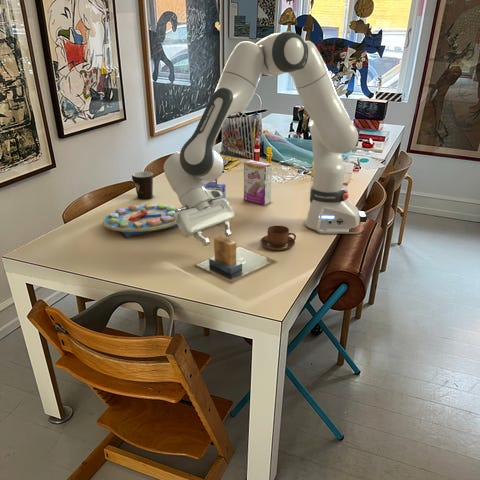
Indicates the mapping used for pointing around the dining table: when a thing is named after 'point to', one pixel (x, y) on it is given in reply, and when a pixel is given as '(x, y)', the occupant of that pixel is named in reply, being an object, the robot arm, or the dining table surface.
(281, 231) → the cup and saucer
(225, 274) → the slate board
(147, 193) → the coffee mug
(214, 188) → the ink cartridge box
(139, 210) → the shape sorting clock
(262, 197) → the candy bar box
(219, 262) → the eraser
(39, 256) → the dining table surface
